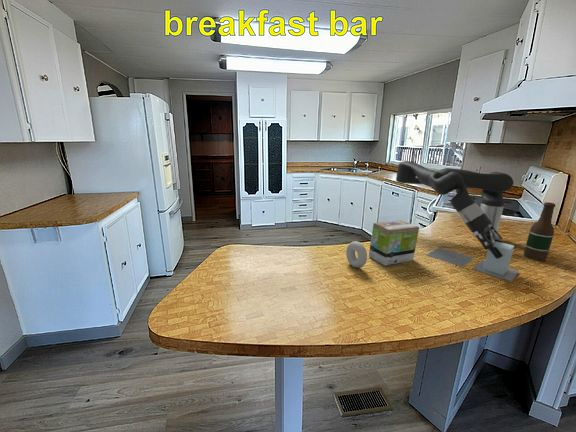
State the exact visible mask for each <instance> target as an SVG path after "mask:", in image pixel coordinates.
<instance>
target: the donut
mask: <svg viewBox="0 0 576 432" xmlns="http://www.w3.org/2000/svg"><path fill="white" fill-rule="evenodd" d="M345 251H346V252H345V254H346V259H347V262H348V263H349V265H351V266H352V267H353V268H355V269H361V268H363V267H365V265H366V264H367V261H368V253H367V249H366V248H365V246H364V244H362V243H361V242H360V241H357V240H355V241H354V240H353V241H351V242H349V244H348V245H347V247H346V250H345ZM356 253H357V256H356Z"/></svg>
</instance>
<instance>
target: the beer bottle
mask: <svg viewBox="0 0 576 432" xmlns="http://www.w3.org/2000/svg"><path fill="white" fill-rule="evenodd" d="M542 205H543V208H542V211H541V213H540V216H539V218H538V220H537V221H536V222H534V223H533V224H532V225H531V227H530V230H529V232H528V236H527V240H526V243H525V247H524V250H523V251H524V252H523V255H524V257H526V258H527V259H529V260H533V261H538V262H540V261H541V262H542V261H546V260H547V258H548V254H549V251H550V250H551V249H550V248H551V245H552V241H553V238H554V234H555V229H554V226H553V224H552V220H553V215H554V210H555V208H556V203H553V202H548V201H547V202H544V203H543V204H542Z"/></svg>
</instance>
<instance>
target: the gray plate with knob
mask: <svg viewBox="0 0 576 432" xmlns="http://www.w3.org/2000/svg"><path fill="white" fill-rule="evenodd" d="M484 263H485V260H481V261H479V263H477V264H476V265H475V266H474V267H473V268H472V270H473V271H477V272H479V273H483V274H486V275H490V276H491V277H494V278H495V277H496V278H499V279H502V280H503V281H505V282H508V281H509V282H508V283H512V282H513V281H514V279H515V277H516V276H517V275H518V274H519V272H520V271H519V270H516V269H513V268H508V271H507V272H506V273H505V274H504V275H500V274H497V273H494V272H491V271H487V270H484V269H483V267H484ZM511 281H512V282H511Z"/></svg>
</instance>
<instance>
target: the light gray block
mask: <svg viewBox="0 0 576 432" xmlns="http://www.w3.org/2000/svg"><path fill="white" fill-rule="evenodd" d="M494 244H495V246H496V247H497V249H498V250H499V251H500V253H501V254H502V257H500V258H498V259H496V258H495V256H494V255H493V254H492V253H491V251H490V250H488V249H487V252H486V255H485V256H486V257H485V259H484V261H485V263H484V267H483V269H484V270H487V271H491V272H494V273H497V274H500V275H504V274H505V273H506V272H507V271H508V268H509V267H510V264H511V259H512V255H513V253H514V248H515V245H513V244H509V243H504V242H503V243H501V242H497V241H495V242H494ZM509 269H510V268H509Z"/></svg>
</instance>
